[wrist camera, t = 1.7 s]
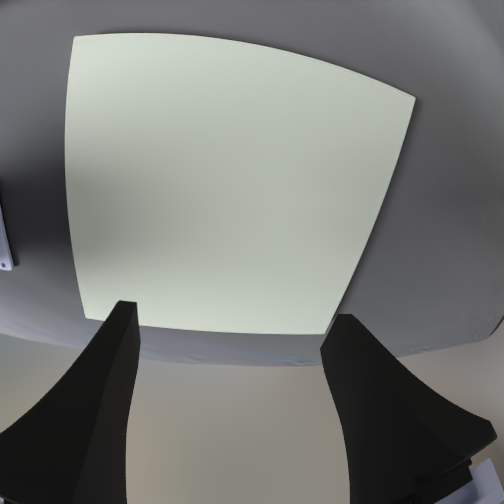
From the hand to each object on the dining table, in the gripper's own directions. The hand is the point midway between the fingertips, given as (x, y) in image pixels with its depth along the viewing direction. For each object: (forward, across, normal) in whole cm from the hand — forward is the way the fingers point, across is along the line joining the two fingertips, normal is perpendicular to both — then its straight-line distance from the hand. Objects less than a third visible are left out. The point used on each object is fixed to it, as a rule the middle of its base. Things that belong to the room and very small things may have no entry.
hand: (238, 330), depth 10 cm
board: (+10, 0, 0) cm, 10 cm away
